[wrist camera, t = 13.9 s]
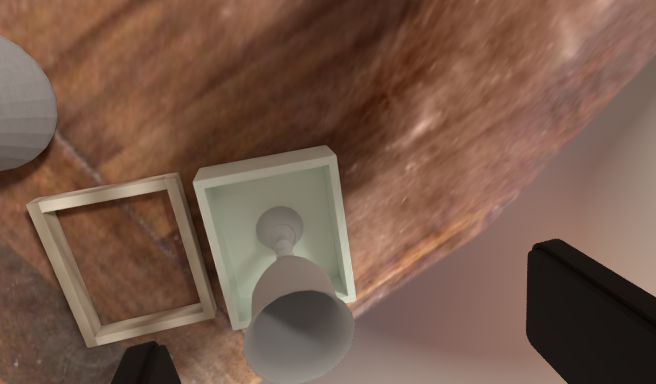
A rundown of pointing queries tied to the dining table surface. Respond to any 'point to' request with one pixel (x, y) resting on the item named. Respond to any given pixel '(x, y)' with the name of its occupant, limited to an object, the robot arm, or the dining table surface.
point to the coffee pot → (23, 107)
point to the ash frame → (72, 279)
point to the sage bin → (257, 197)
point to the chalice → (294, 310)
